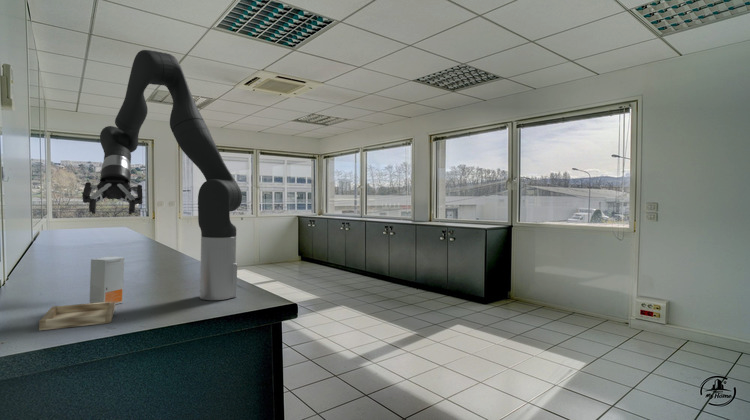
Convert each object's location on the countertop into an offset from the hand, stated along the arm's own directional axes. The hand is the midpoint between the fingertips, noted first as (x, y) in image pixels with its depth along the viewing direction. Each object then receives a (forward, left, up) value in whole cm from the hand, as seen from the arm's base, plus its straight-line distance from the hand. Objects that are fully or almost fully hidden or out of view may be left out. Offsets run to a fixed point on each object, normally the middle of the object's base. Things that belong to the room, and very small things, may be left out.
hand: (112, 212), depth 107 cm
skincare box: (0, +12, -23) cm, 26 cm away
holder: (+4, +23, -23) cm, 33 cm away
